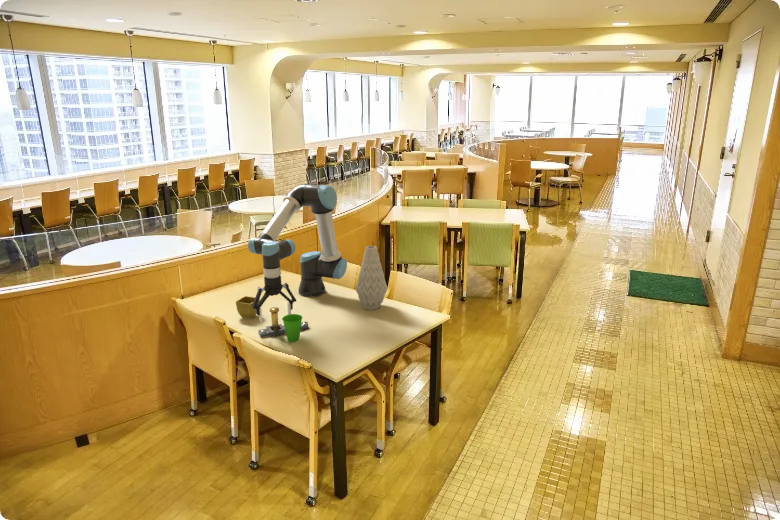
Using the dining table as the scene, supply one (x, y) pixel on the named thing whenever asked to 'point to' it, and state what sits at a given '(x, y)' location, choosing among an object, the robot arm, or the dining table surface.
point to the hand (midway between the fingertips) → (275, 318)
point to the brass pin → (274, 318)
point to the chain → (280, 331)
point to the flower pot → (246, 307)
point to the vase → (371, 280)
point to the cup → (292, 327)
